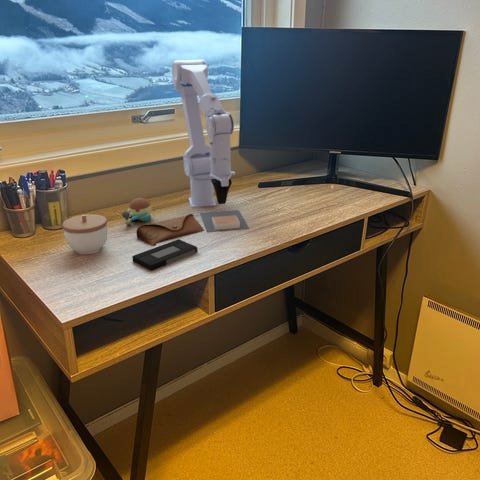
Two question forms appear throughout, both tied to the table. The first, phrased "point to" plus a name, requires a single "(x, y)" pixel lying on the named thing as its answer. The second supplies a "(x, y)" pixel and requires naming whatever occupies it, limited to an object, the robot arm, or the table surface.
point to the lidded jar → (86, 233)
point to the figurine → (137, 211)
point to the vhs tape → (164, 254)
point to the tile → (225, 222)
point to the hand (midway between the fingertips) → (221, 203)
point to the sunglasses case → (168, 229)
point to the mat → (208, 216)
